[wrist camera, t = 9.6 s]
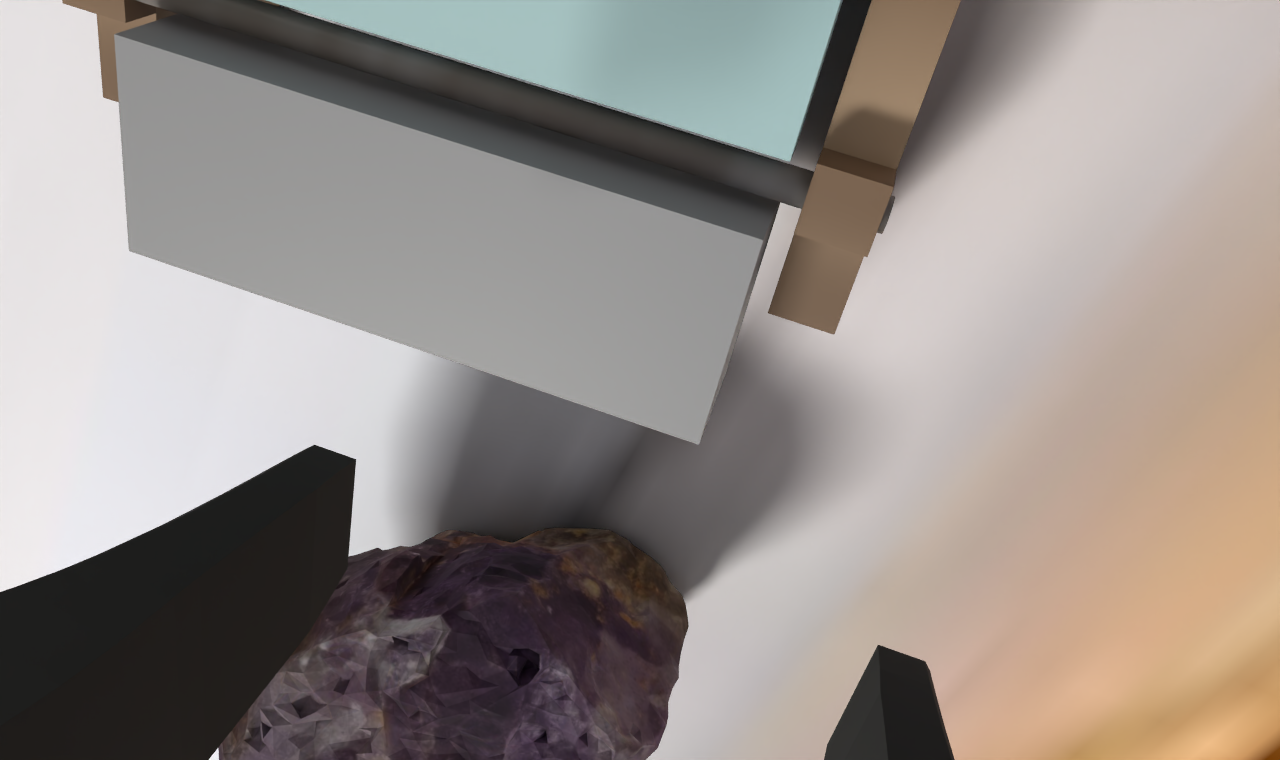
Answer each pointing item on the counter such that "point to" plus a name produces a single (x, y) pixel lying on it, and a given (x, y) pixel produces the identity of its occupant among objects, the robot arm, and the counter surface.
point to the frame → (829, 197)
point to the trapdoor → (481, 184)
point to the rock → (480, 656)
